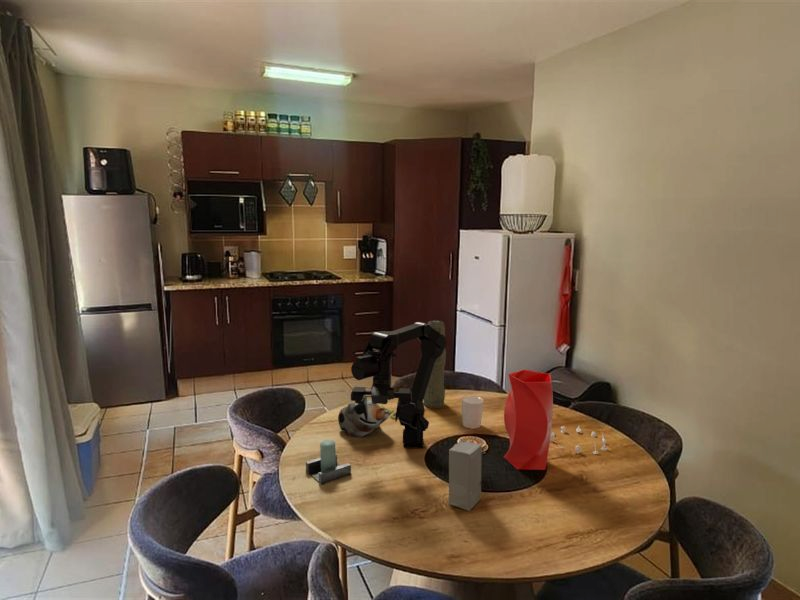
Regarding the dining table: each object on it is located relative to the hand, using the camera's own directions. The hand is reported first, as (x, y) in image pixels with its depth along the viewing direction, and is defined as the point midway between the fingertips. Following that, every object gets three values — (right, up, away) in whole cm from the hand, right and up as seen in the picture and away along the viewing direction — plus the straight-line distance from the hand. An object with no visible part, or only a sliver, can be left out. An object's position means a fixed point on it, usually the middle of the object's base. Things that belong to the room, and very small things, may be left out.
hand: (381, 420), depth 161 cm
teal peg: (-16, -14, -7) cm, 22 cm away
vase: (+46, -14, +2) cm, 48 cm away
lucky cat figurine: (-7, -9, +24) cm, 27 cm away
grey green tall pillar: (+20, -5, +50) cm, 54 cm away
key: (+3, -7, +40) cm, 41 cm away
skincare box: (+23, -17, -21) cm, 36 cm away
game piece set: (+68, -12, +17) cm, 71 cm away
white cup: (+33, -9, +30) cm, 45 cm away
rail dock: (-16, -14, -7) cm, 22 cm away
